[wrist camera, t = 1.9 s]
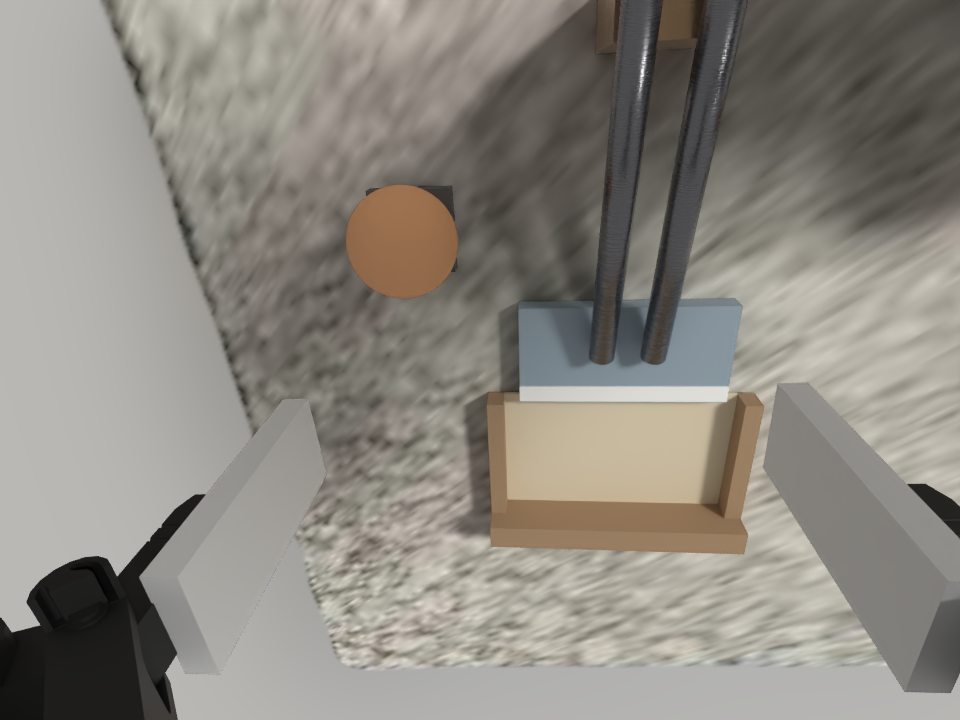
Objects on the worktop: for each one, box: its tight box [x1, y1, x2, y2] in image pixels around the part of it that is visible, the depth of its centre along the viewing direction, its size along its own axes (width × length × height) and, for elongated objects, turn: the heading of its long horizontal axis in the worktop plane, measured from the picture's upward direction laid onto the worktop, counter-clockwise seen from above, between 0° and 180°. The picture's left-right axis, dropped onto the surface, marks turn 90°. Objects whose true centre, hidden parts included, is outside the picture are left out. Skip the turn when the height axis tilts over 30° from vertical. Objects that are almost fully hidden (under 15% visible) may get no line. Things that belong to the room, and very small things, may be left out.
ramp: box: [589, 0, 748, 365], centre depth 25 cm, size 18×4×8 cm, turn 3°
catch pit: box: [486, 392, 764, 554], centre depth 34 cm, size 10×16×3 cm, turn 93°
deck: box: [518, 298, 743, 403], centre depth 32 cm, size 6×12×1 cm, turn 93°
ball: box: [346, 185, 458, 298], centre depth 25 cm, size 5×5×5 cm
